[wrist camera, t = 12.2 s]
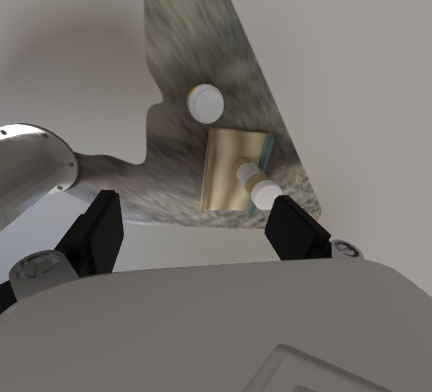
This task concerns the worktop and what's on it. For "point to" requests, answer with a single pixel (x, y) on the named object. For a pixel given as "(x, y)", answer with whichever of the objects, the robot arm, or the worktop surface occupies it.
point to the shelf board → (222, 167)
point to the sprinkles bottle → (256, 183)
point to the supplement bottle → (205, 103)
